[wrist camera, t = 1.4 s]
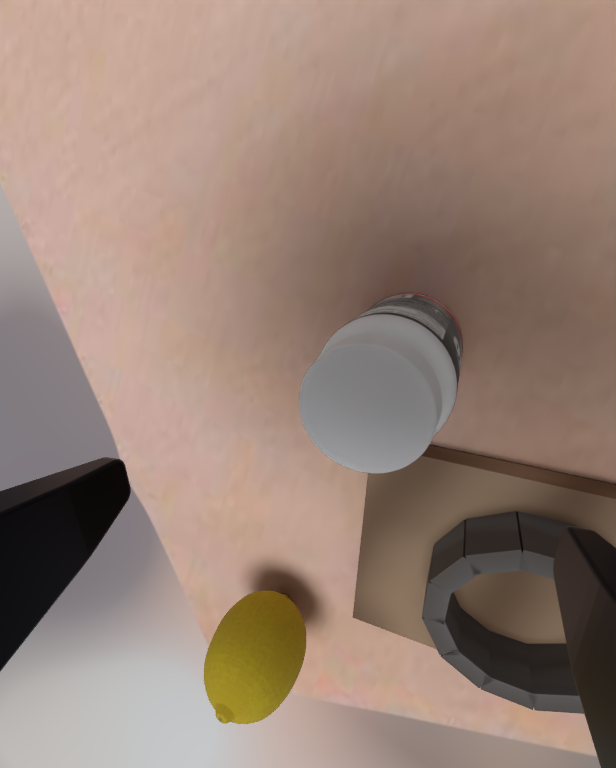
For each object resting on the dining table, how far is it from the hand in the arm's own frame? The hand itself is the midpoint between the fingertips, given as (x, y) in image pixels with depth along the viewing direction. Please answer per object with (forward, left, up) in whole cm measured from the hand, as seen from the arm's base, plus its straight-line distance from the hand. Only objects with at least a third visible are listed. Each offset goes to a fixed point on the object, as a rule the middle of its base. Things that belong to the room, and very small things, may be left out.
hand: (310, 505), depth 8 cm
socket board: (-7, +11, -12) cm, 18 cm away
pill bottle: (0, 0, -12) cm, 12 cm away
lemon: (+6, +19, -12) cm, 23 cm away
